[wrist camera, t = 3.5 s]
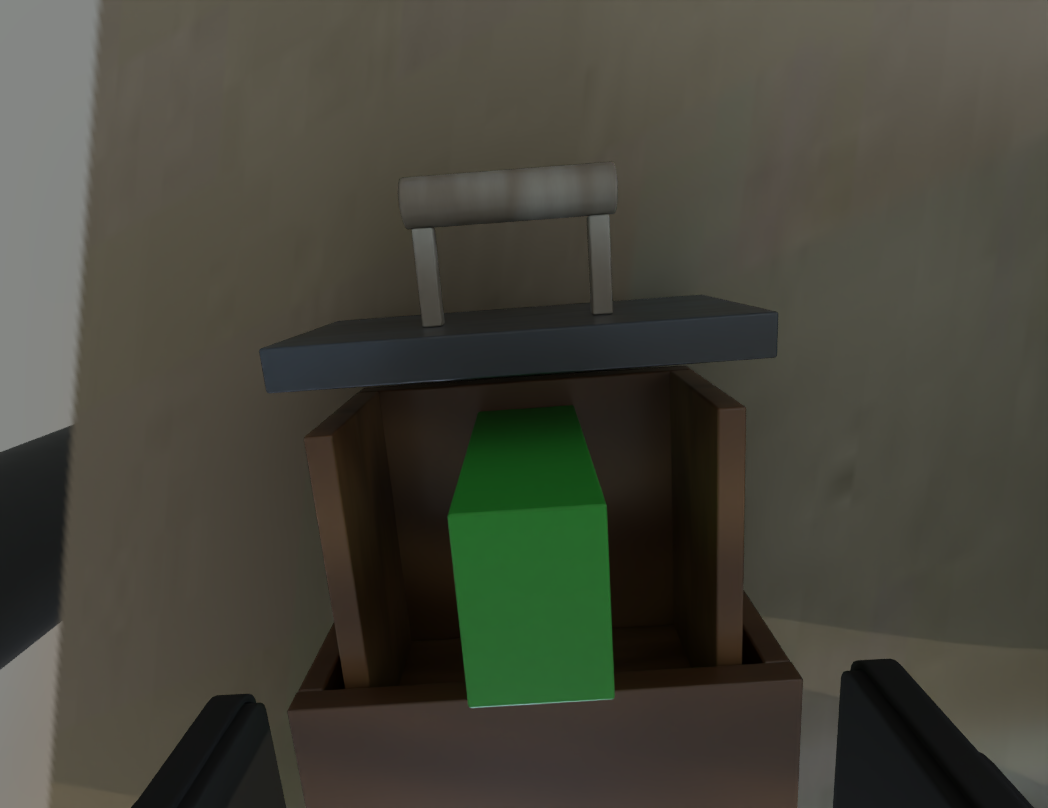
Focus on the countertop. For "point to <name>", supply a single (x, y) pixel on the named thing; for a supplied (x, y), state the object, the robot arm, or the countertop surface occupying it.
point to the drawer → (514, 350)
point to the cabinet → (558, 740)
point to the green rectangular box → (531, 562)
